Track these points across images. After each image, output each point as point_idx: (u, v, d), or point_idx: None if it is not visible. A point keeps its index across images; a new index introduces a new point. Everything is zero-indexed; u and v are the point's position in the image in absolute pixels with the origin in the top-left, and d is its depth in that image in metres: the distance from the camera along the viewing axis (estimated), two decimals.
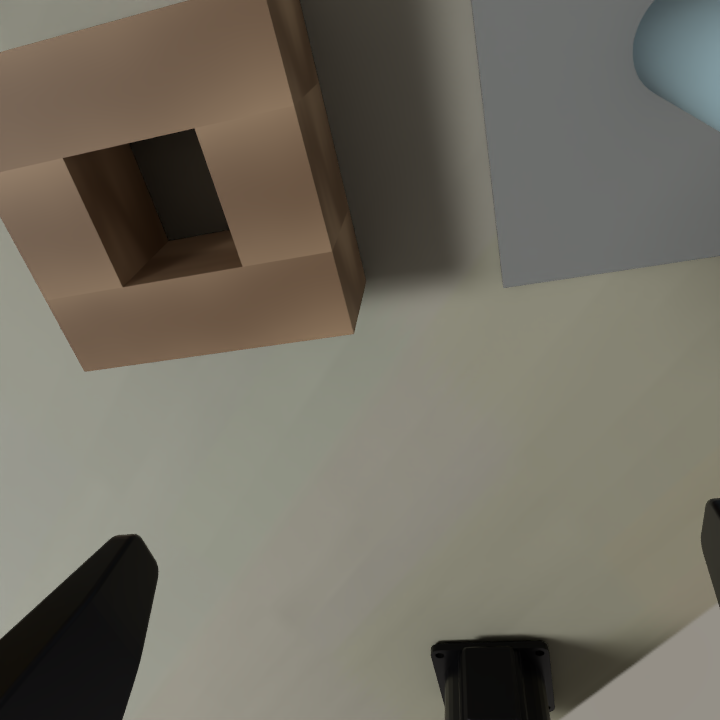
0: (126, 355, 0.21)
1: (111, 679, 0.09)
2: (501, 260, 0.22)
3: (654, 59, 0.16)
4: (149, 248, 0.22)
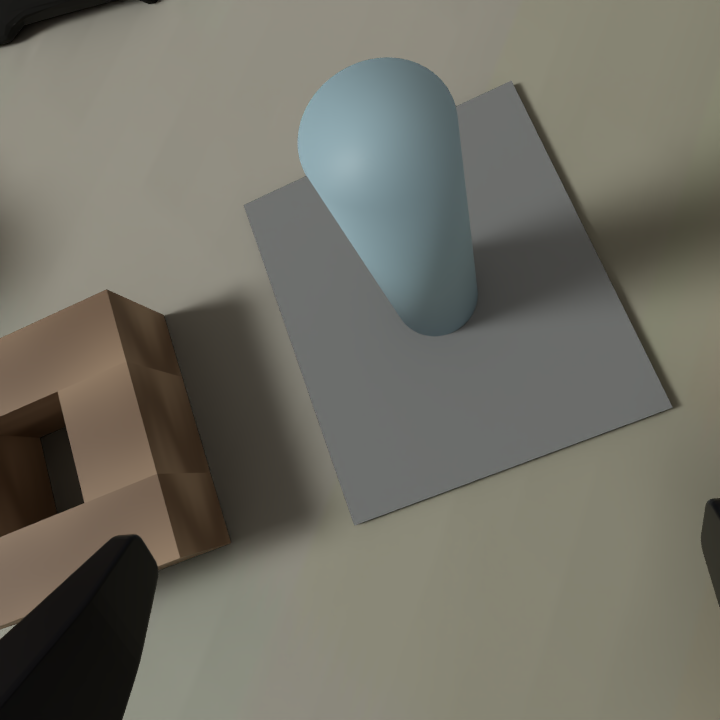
0: None
1: (111, 679, 0.09)
2: (345, 496, 0.23)
3: None
4: None
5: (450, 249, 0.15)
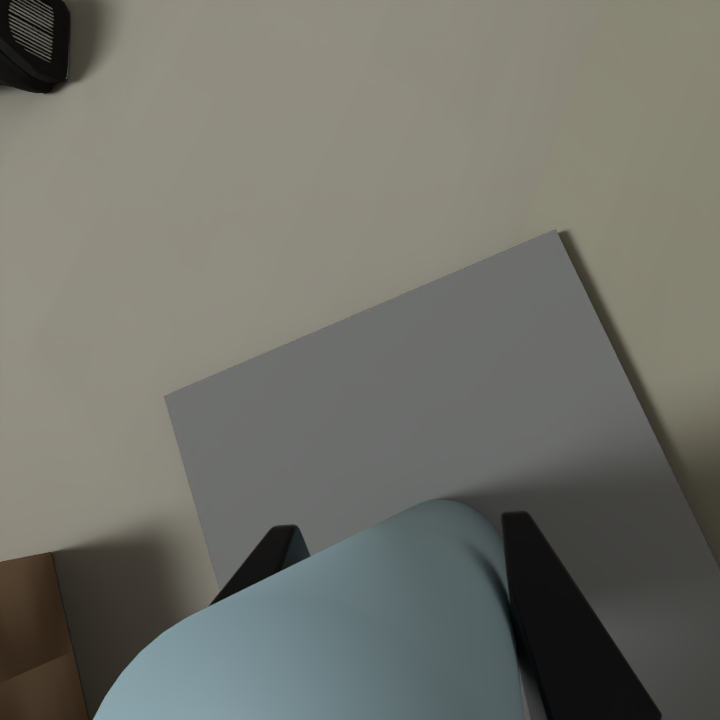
0: None
1: None
2: None
3: None
4: None
5: None
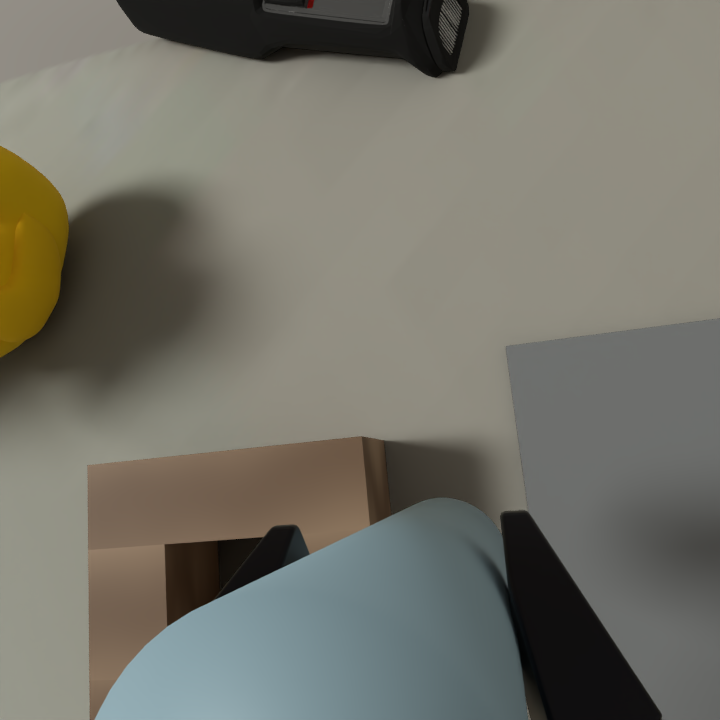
0: None
1: None
2: None
3: None
4: None
5: None
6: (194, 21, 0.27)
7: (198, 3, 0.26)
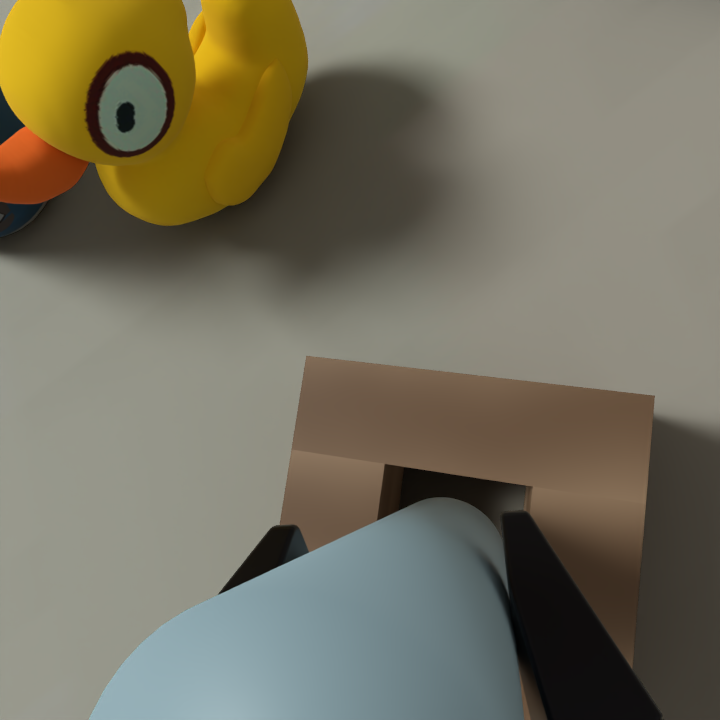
0: None
1: None
2: None
3: None
4: None
5: None
6: None
7: None
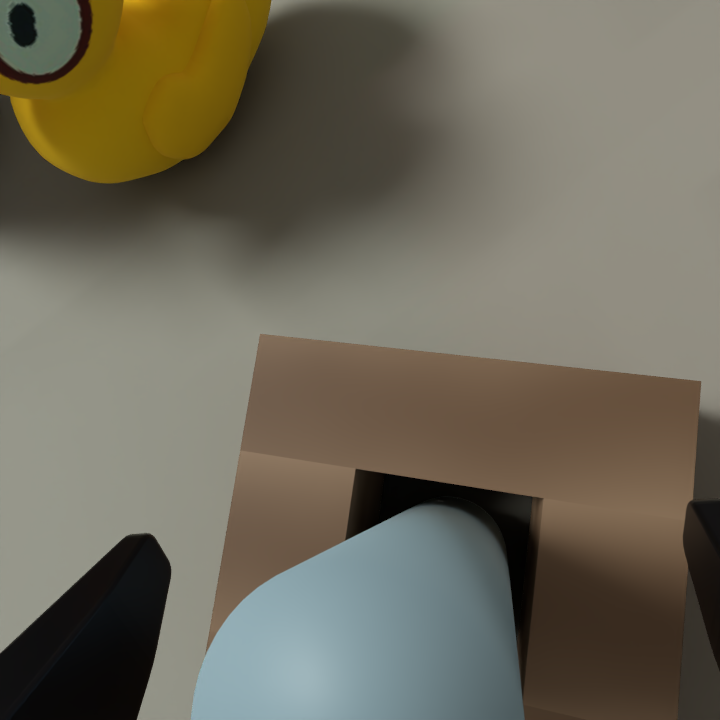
0: None
1: (126, 679, 0.09)
2: None
3: None
4: None
5: None
6: None
7: None
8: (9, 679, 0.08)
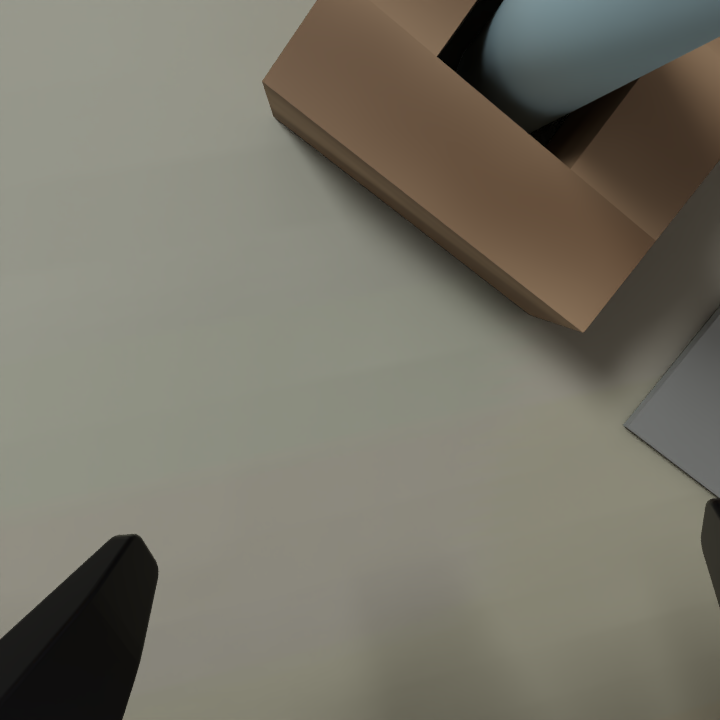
0: (338, 118, 0.14)
1: (111, 679, 0.09)
2: (649, 402, 0.20)
3: (474, 50, 0.16)
4: None
5: (674, 58, 0.11)
6: None
7: None
8: None
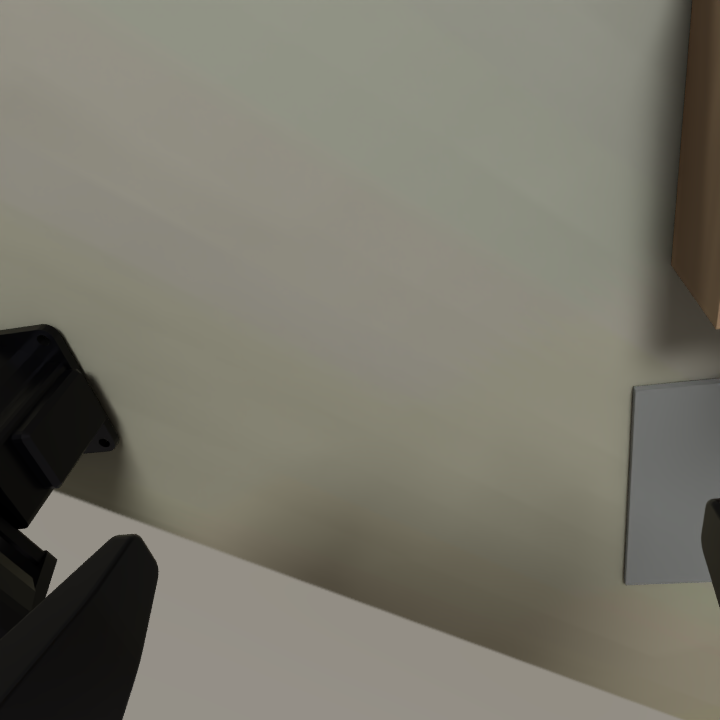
0: None
1: (111, 679, 0.09)
2: (666, 388, 0.23)
3: None
4: None
5: None
6: None
7: None
8: None
